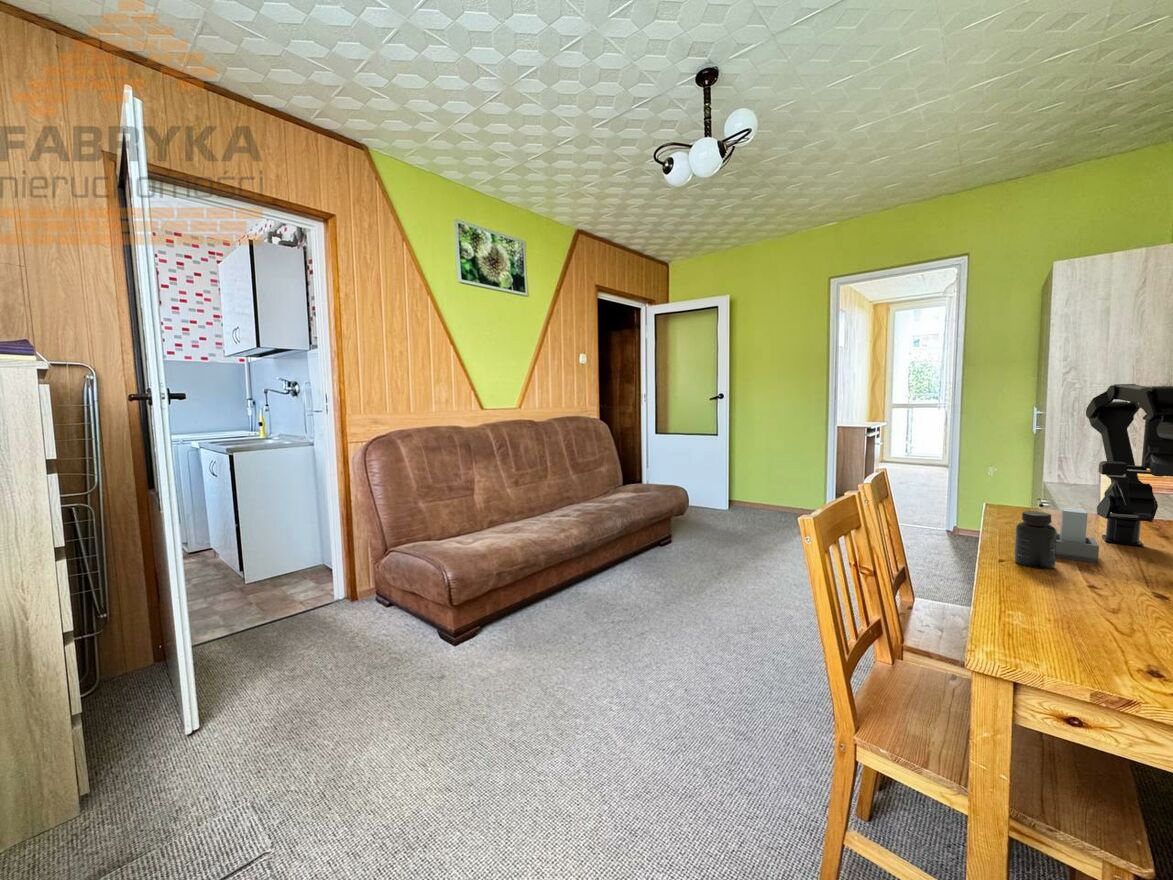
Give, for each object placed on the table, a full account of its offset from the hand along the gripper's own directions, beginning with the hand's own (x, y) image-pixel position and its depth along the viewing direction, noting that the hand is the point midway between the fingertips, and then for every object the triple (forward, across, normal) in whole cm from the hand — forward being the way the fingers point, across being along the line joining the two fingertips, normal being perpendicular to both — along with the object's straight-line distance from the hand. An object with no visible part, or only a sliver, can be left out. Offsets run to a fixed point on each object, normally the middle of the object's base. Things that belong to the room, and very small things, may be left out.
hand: (1156, 507), depth 109 cm
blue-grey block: (+11, -14, -8) cm, 19 cm away
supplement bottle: (+12, -21, -21) cm, 32 cm away
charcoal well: (+12, -14, -8) cm, 20 cm away
